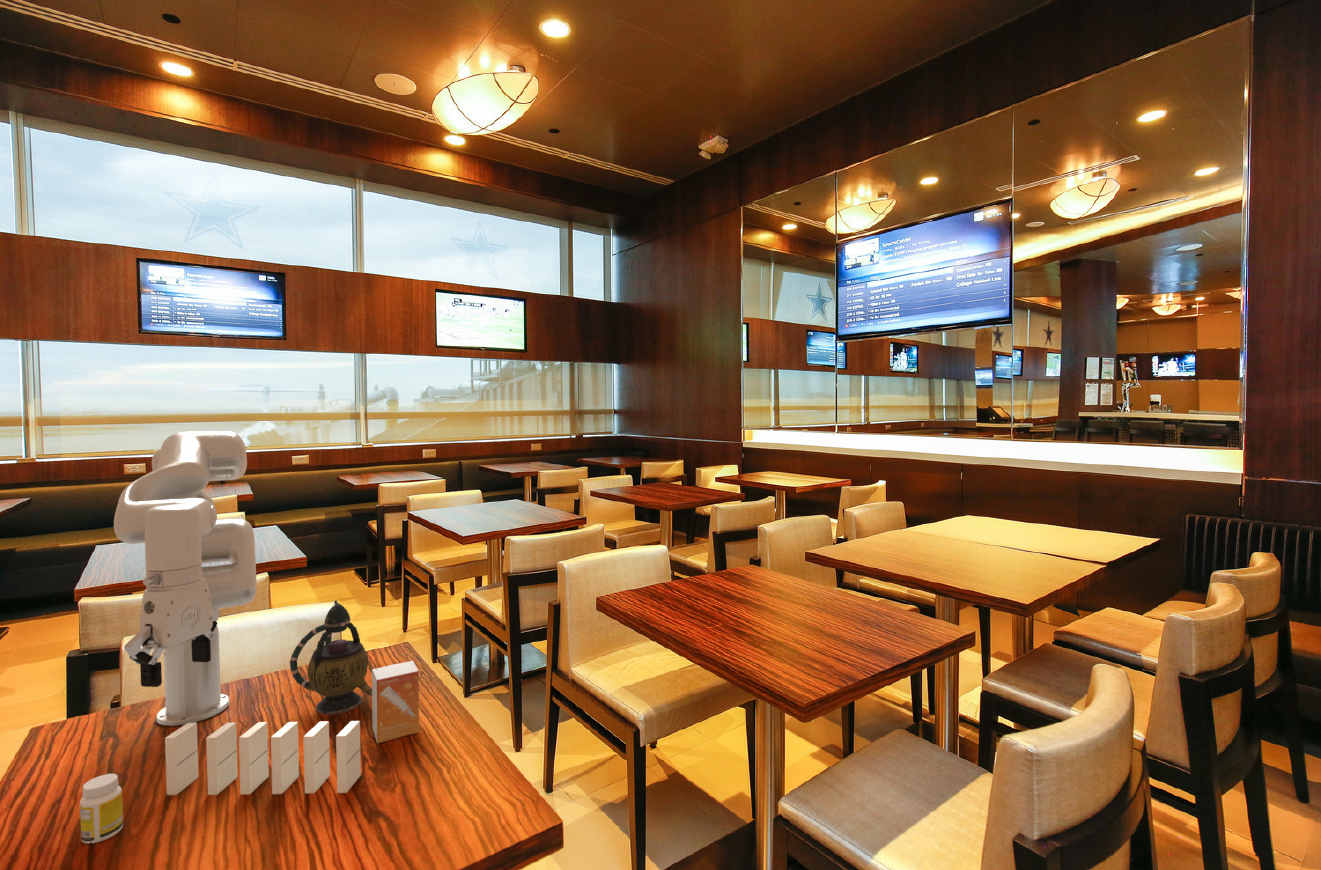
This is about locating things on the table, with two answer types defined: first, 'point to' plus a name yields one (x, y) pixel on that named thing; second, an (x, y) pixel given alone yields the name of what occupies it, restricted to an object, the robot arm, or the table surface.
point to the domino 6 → (348, 756)
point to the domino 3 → (253, 757)
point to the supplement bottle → (101, 809)
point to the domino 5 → (316, 756)
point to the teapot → (334, 665)
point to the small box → (395, 701)
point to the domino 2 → (221, 758)
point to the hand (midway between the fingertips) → (177, 673)
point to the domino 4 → (284, 757)
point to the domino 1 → (181, 758)
